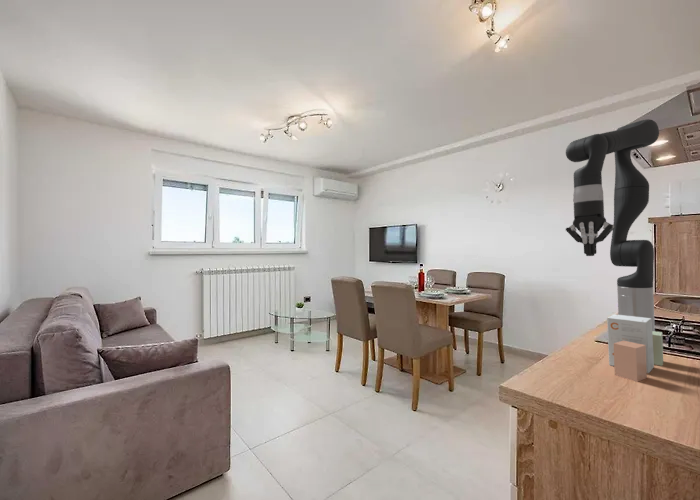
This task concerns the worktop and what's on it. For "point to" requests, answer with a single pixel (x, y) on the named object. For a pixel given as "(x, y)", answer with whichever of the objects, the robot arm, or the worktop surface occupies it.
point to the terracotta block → (630, 360)
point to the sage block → (658, 348)
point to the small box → (631, 335)
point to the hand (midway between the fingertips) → (590, 255)
